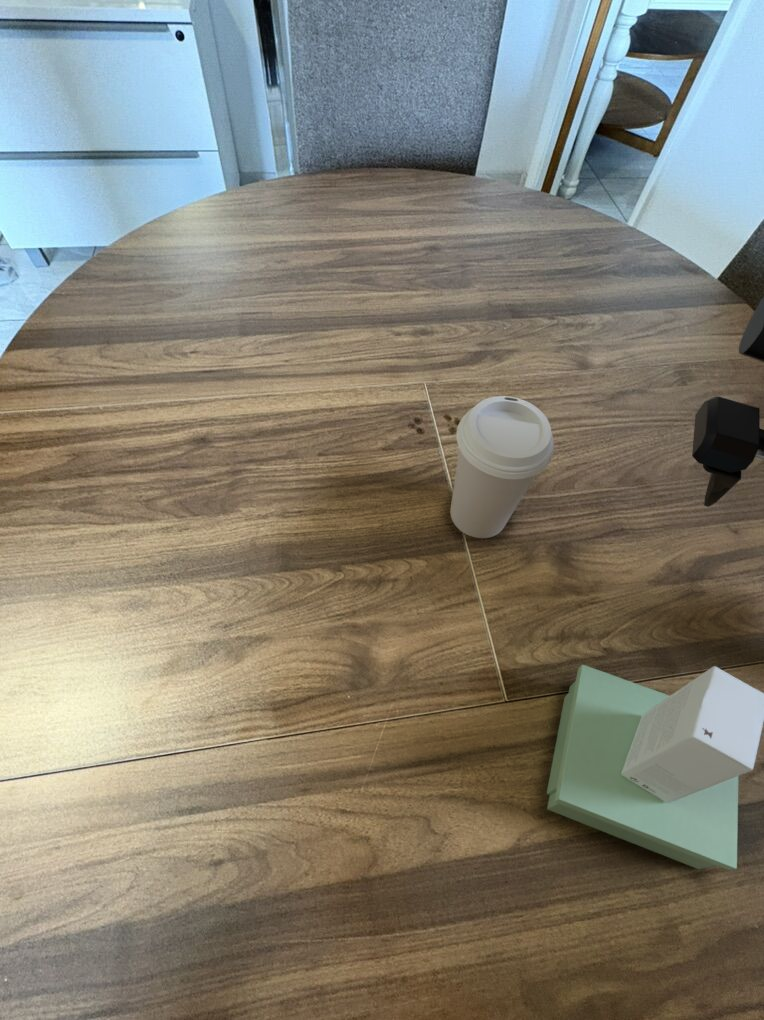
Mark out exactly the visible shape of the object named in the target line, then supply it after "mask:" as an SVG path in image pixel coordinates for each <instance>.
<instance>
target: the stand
mask: <svg viewBox="0 0 764 1020" xmlns="http://www.w3.org/2000/svg"><path fill="white" fill-rule="evenodd" d="M669 696H670V694H669V695H668V694H666V693H663V692H660V691H658V690H656V689H652V688H650V687H647V686H644V685H641V684H639V683H636V682H633V681H630V680H627V679H624V678H623V677H622V678H621V677H620V676H616V675H613V674H611V673H609V672H605V671H602V670H600V669H597V668H594V667H591V666H588V665H586V664H581V666H579V667H578V668H577V674H576V679H575V681H574V682H573V683H572V684H571V685H570V686H569V690H568V693H567V694H566V695H565V696H564V698H563V704H562V709H561V714H560V720H559V725H558V729H557V735H556V742H555V747H554V751H553V752H554V753H553V757H552V762H551V768H550V774H549V777H548V784H547V788H546V794H547V795H549V797H548V802H547V809H546V810H547V811H551V812H553V813H554V814H555V813H556V814H558V815H560V816H563V817H565V818H568V819H570V820H573V821H575V822H579V823H580V824H583V825H586V826H588V827H590V828H593V829H596V830H597V831H600V832H603V833H607V835H611V836H613V837H615V838H617V839H621V840H623V841H625V842H629V843H631V844H634V845H636V846H639V847H642V848H643V849H646V850H648V851H651V852H654V853H656V854H659V855H662V856H664V857H667V858H669V859H671V860H674V861H676V862H678V863H682V864H684V865H686V866H689V867H692V868H694V869H696V870H701V869H706V868H713V867H719V868H722V869H724V870H726V871H733V870H737V869H738V827H739V826H738V823H739V821H738V819H739V817H738V816H739V776H736V777H734V778H731V779H729V780H726V781H724V782H721V783H719V784H716V785H714V786H711V787H709V788H706V789H704V790H701V791H698V792H696V793H693V794H691V795H688V796H686V797H683V798H681V799H678V800H675V801H673V802H670V803H666V802H664V801H663V800H661V799H660V798H658V797H656V796H655V795H653V794H651V793H650V792H648V791H647V790H645V789H643V788H642V787H640V786H638V785H637V784H635V783H633V782H632V781H630V780H629V779H627V778H625V777H624V776H622V775H621V772H622V769H623V767H624V764H625V761H626V758H627V755H628V753H629V750H630V747H631V744H632V741H633V739H634V736H635V733H636V730H637V728H638V725H639V722H640V719H641V716H642V715H643V714H644V713H646V712H647V711H649V710H650V709H652V708H653V707H655V706H656V705H658V704H659V703H661V702H662V701H663V700H665V699H666V698H668V697H669Z"/></svg>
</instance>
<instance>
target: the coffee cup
mask: <svg viewBox="0 0 764 1020" xmlns="http://www.w3.org/2000/svg"><path fill="white" fill-rule="evenodd" d="M455 436H456V437H455V438H456V443H457V446H458V451H457V460H456V469H455V475H454V482H453V489H452V496H451V504H450V512H449V513H450V518H451V521H452V523H453V524H454V526H455V527H456V528H457V529H458V530H459V531H460V532H462V533H463V534H464V535H467V536H468V537H471V538H476V539H489V538H492V537H495V536H498V534H500V533H501V532H502V531H503V529H504V528H505V527H506V525H507V524H508V521H509V520H510V518H511V517H512V515H513V513H514V512H515V510H516V509H517V507H518V506H519V504H520V502H521V501H522V499H523V497H524V495H525V494H526V492H527V491H528V489H529V487H530V486H531V485H532V483H533V482H534V480H535V478H536V477H537V475H538V474H540V473H541V472H543V471H544V470H545V469H546V468H547V467H548V466H549V465H550V464H551V461H552V459H553V456H554V450H555V441H554V435H553V432H552V427H551V423H550V421H549V419H548V418H547V416H546V415H545V414H544V413H543V411H541V409H539V408H538V407H537V406H536V405H534V404H533V403H531V402H528V401H527V400H524V399H522V398H518V397H515V396H510V395H509V396H508V395H497V396H492V397H487V398H485V399H483V400H481V401H479V402H478V403H477V404H476V405H474V406H473V407H472V408H470V409H469V410H468V411H467V412H466V413H465V414H464V415H463V417H462V418H461V419H460V421H459V423H458V424H457V428H456V434H455Z"/></svg>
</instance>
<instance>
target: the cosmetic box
mask: <svg viewBox="0 0 764 1020" xmlns="http://www.w3.org/2000/svg"><path fill="white" fill-rule="evenodd" d="M763 727H764V692H762V691H760V690H759V689H757V688H755V687H753V686H751V685H750V684H748V683H746V682H744V681H743V680H740V679H739V678H737V677H735V676H733V675H732V674H730V673H728V672H726V671H725V670H722V669H721V668H719V667H718V666H716V665H713V666H711V667H709V668H708V669H707V670H706V671H704V672H702V674H700V675H698V676H696V677H695V678H694V679H692V680H691V681H690V682H688V683H686V684H685V685H684V686H682V687H681V688H680V689H678V690H676V691H675V692H674V693H672V694H670V695H669V697H668V698H666V699H665V700H663V701H662V702H661V703H659V704H658V705H656V706H655V707H653V708H652V709H650V710H649V711H647V712H646V713H644V714H643V715H642V716H641V719H640V722H639V725H638V728H637V730H636V733H635V736H634V739H633V741H632V744H631V747H630V750H629V753H628V755H627V758H626V761H625V764H624V767H623V769H622V772H621V775H622V776H624V777H625V778H627V779H629V780H630V781H632V782H633V783H635V784H637V785H638V786H640V787H642V788H643V789H645V790H647V791H648V792H650V793H651V794H653V795H655V796H656V797H658V798H660V799H661V800H663V801H664V802H666V803H670V802H673V801H675V800H678V799H681V798H683V797H686V796H688V795H691V794H693V793H696V792H698V791H701V790H704V789H706V788H709V787H711V786H714V785H716V784H719V783H721V782H724V781H726V780H729V779H731V778H734V777H736V776H738V777H739V776H741V775H744V774H746V773H749V772H751V771H753V770H754V767H755V763H756V759H757V755H758V751H759V745H760V740H761V736H762V731H763Z"/></svg>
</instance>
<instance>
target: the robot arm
mask: <svg viewBox="0 0 764 1020" xmlns="http://www.w3.org/2000/svg"><path fill="white" fill-rule="evenodd" d="M738 353H739V355H741V356H744V357H747V358H750V359H754V360H756V361H759V362H762V363H764V296H763V297H762V298H761V300H760V301H759V303H758V305H757V306H756V308H755V310H754V312H753V313H752V315H751V317H750V319H749V321H748V323H747V325H746V327H745V329H744V332H743V334H742V337H741V339H740V342H739V345H738ZM760 413H761V411H760V407H757V406H753V405H750V404H747V403H743V402H740V401H736V400H732V399H728V398H725V397H722V396H720V395H719V396H718V395H717V396H712V397H710V398H709V399H707V400H705V401H704V402H703V403H702V405H700V407H699V408H698V410H697V412H695V415H694V427H693V441H692V453H691V456H692V458H693V459H695V461H696V462H697V463H698V464H701V465H702V468H703V469H704V471H706V472H707V473H709V474H710V476H709V479H708V484H707V487H706V492H705V495H704V501H703V502H704V503H703V506H704V507H707V508H709V507H712V506H713V505H714V504H717V502H718V501H720V500H721V499H722V498H723V497H724V496H725V495H726V494H727V493H728V492H729V491H730V490H731V489H732V488H733V487H734V486H736V485H737V484H738V483H739V482H740V481H741V480H742V471H746V470H747V469H748V468H749V467H750V465H751V464H752V463H753V462H754V460H755V459H756V458H757V459H761V460H764V428H761V427H760V425H761V424H760V419H761V418H760V417H761V416H760Z"/></svg>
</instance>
